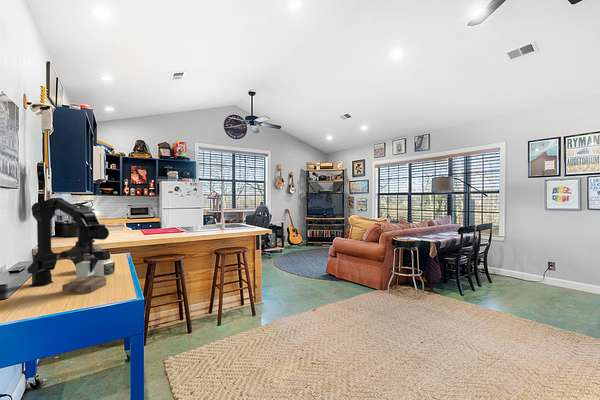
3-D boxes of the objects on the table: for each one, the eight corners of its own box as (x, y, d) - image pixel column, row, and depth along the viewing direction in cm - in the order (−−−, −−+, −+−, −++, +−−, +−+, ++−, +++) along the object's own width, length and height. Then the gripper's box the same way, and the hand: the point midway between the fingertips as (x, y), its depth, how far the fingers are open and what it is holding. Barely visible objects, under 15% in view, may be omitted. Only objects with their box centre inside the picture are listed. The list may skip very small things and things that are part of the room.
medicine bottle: (103, 277, 155) (104, 254, 155) (92, 276, 157) (92, 254, 157) (114, 273, 162) (115, 252, 162) (104, 272, 164) (104, 251, 164)
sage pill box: (75, 276, 133) (76, 263, 133) (83, 274, 138) (83, 261, 138) (87, 276, 134) (87, 263, 134) (94, 273, 139) (94, 261, 139)
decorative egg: (92, 273, 162) (92, 246, 162) (74, 272, 164) (74, 245, 164) (109, 268, 173) (109, 243, 173) (92, 267, 175) (92, 242, 175)
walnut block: (62, 294, 130) (62, 285, 130) (80, 285, 142) (80, 277, 142) (91, 293, 131) (91, 285, 131) (106, 285, 143) (106, 277, 143)
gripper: (50, 241, 127) (50, 277, 127) (96, 241, 129) (96, 276, 129) (68, 237, 138) (68, 270, 138) (110, 237, 140) (110, 270, 140)
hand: (85, 272), depth 136 cm, fingers closed on sage pill box, 5 cm apart
